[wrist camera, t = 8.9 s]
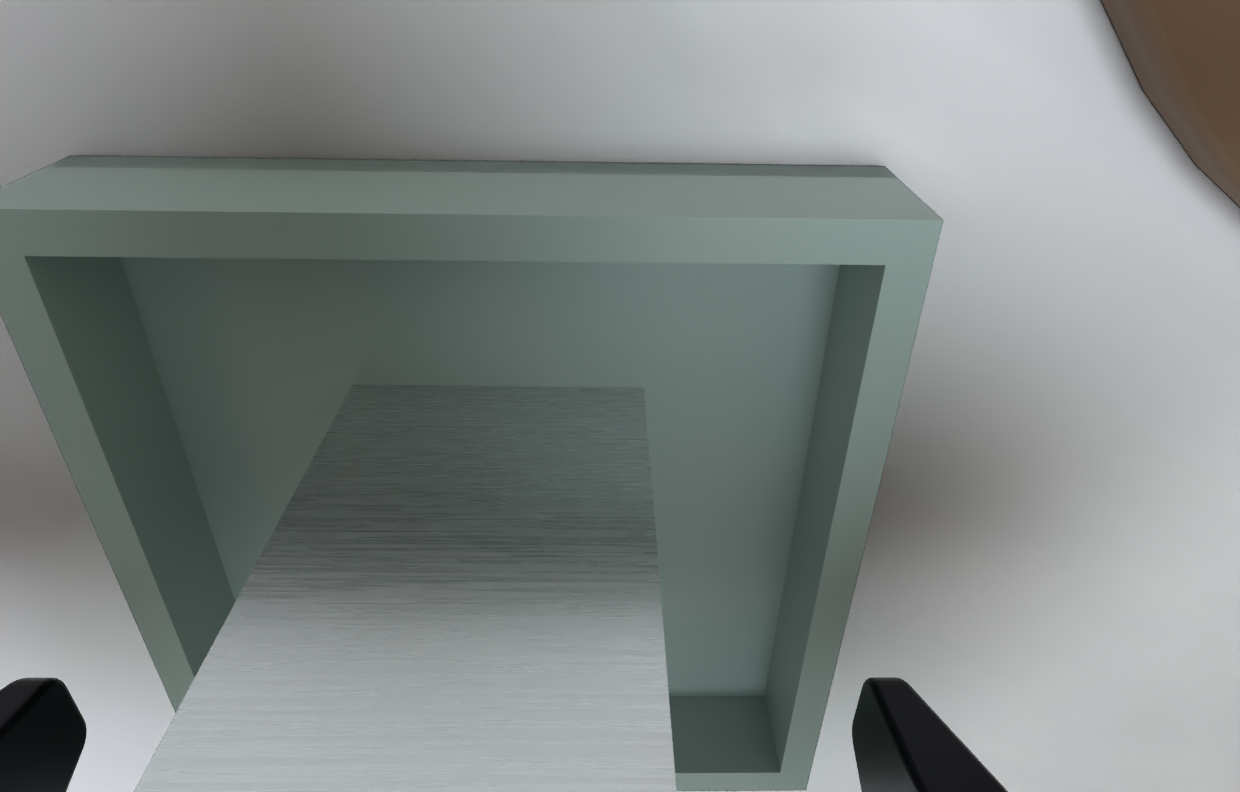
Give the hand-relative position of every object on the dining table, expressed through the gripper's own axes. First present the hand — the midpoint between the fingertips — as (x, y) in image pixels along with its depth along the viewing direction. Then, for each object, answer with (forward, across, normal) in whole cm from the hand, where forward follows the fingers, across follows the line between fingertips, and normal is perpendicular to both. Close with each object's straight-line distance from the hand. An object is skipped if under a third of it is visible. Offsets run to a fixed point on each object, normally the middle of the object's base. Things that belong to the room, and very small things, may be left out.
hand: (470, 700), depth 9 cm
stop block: (+4, 0, 0) cm, 4 cm away
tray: (+4, 0, 0) cm, 4 cm away
